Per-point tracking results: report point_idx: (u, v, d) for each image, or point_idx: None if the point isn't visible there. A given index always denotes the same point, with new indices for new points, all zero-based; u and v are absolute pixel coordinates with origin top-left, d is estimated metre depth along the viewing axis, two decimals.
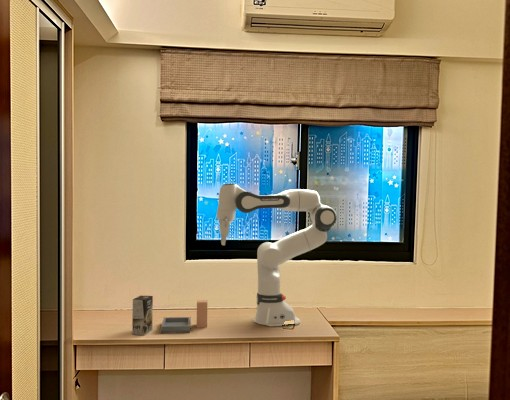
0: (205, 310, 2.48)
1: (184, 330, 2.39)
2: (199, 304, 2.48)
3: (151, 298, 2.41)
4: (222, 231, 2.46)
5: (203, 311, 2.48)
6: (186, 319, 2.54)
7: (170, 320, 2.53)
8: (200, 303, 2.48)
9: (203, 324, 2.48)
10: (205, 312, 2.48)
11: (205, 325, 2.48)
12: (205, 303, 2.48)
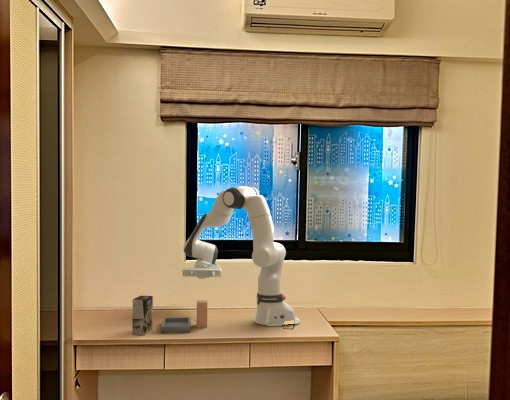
0: (205, 310, 2.48)
1: (184, 330, 2.39)
2: (199, 304, 2.48)
3: (151, 298, 2.41)
4: None
5: (203, 311, 2.48)
6: (186, 319, 2.54)
7: (170, 320, 2.53)
8: (200, 303, 2.48)
9: (203, 324, 2.48)
10: (205, 312, 2.48)
11: (205, 325, 2.48)
12: (205, 303, 2.48)
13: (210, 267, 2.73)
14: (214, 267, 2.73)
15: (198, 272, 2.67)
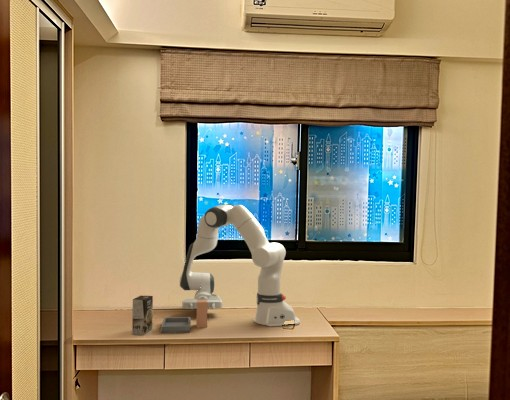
0: (205, 310, 2.48)
1: (184, 330, 2.39)
2: (199, 304, 2.48)
3: (151, 298, 2.41)
4: None
5: (203, 311, 2.48)
6: (186, 319, 2.54)
7: (170, 320, 2.53)
8: (200, 303, 2.48)
9: (203, 324, 2.48)
10: (205, 312, 2.48)
11: (205, 325, 2.48)
12: (205, 303, 2.48)
13: (210, 298, 2.71)
14: (214, 298, 2.71)
15: None
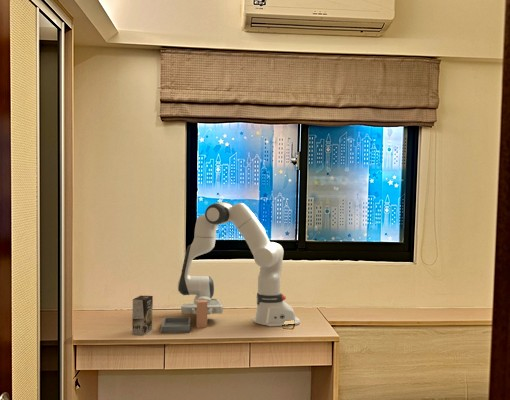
0: (205, 310, 2.48)
1: (184, 330, 2.39)
2: (199, 304, 2.48)
3: (151, 298, 2.41)
4: None
5: (203, 311, 2.48)
6: (186, 319, 2.54)
7: (170, 320, 2.53)
8: (200, 303, 2.48)
9: (203, 324, 2.48)
10: (205, 312, 2.48)
11: (205, 325, 2.48)
12: (205, 303, 2.48)
13: (210, 303, 2.60)
14: (214, 303, 2.61)
15: None
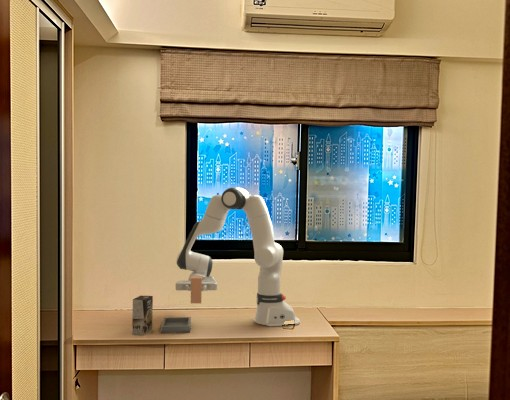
0: (199, 286, 2.47)
1: (184, 330, 2.39)
2: (193, 280, 2.47)
3: (151, 298, 2.41)
4: None
5: (197, 287, 2.47)
6: (186, 319, 2.54)
7: (170, 320, 2.53)
8: (194, 279, 2.47)
9: (197, 300, 2.47)
10: (199, 288, 2.47)
11: (199, 301, 2.47)
12: (199, 279, 2.47)
13: (205, 280, 2.59)
14: (209, 280, 2.59)
15: None
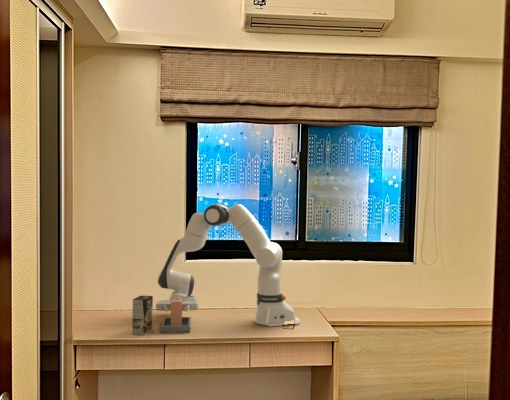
0: (179, 310, 2.44)
1: (184, 330, 2.39)
2: (173, 304, 2.44)
3: (151, 298, 2.41)
4: None
5: (177, 310, 2.44)
6: (186, 319, 2.54)
7: (170, 320, 2.53)
8: (174, 303, 2.44)
9: (177, 324, 2.44)
10: (179, 312, 2.44)
11: (179, 325, 2.44)
12: (179, 303, 2.44)
13: (186, 300, 2.56)
14: (190, 300, 2.56)
15: None
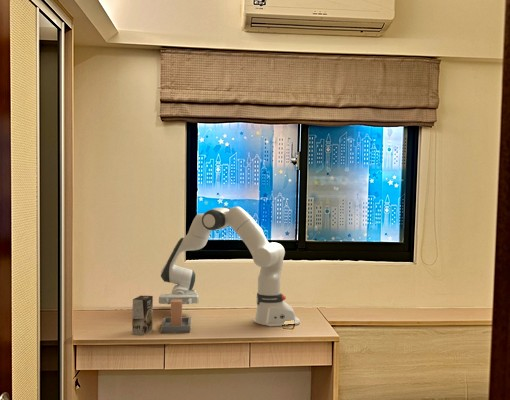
0: (179, 310, 2.44)
1: (184, 330, 2.39)
2: (173, 304, 2.44)
3: (151, 298, 2.41)
4: None
5: (177, 310, 2.44)
6: (186, 319, 2.54)
7: (170, 320, 2.53)
8: (174, 303, 2.44)
9: (177, 324, 2.44)
10: (179, 312, 2.44)
11: (179, 325, 2.44)
12: (179, 303, 2.44)
13: (187, 293, 2.70)
14: (191, 293, 2.70)
15: (174, 299, 2.64)
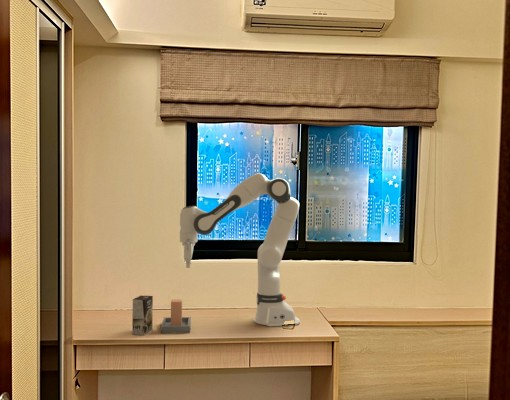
0: (179, 310, 2.44)
1: (184, 330, 2.39)
2: (173, 304, 2.44)
3: (151, 298, 2.41)
4: (185, 254, 2.50)
5: (177, 310, 2.44)
6: (186, 319, 2.54)
7: (170, 320, 2.53)
8: (174, 303, 2.44)
9: (177, 324, 2.44)
10: (179, 312, 2.44)
11: (179, 325, 2.44)
12: (179, 303, 2.44)
13: None
14: None
15: None
